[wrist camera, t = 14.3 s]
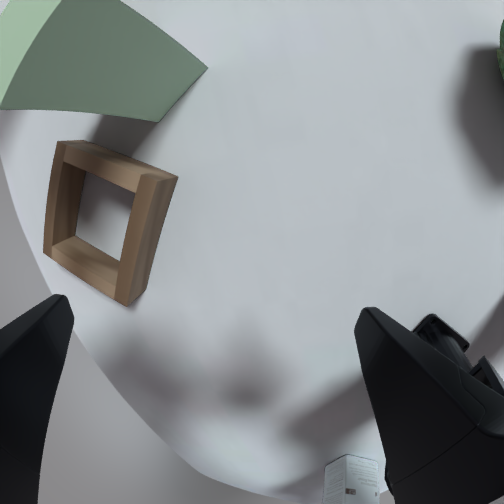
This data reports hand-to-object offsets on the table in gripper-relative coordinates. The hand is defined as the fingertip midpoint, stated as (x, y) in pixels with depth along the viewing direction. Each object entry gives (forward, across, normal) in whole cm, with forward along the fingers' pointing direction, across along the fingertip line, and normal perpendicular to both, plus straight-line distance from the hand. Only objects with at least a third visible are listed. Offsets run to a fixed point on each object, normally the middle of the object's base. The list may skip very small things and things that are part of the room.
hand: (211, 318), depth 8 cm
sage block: (+14, +5, -8) cm, 17 cm away
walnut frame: (+14, +9, +2) cm, 16 cm away
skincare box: (+3, -17, +30) cm, 34 cm away
